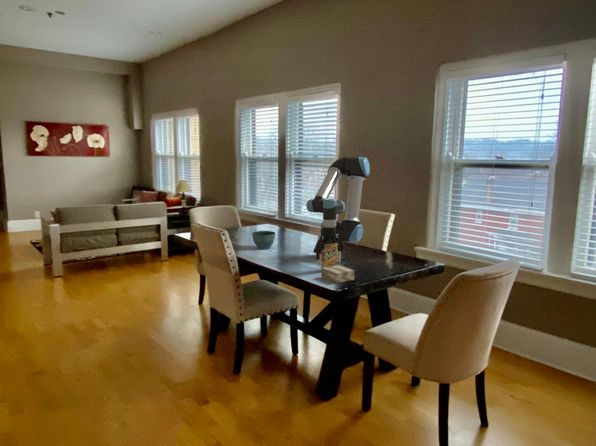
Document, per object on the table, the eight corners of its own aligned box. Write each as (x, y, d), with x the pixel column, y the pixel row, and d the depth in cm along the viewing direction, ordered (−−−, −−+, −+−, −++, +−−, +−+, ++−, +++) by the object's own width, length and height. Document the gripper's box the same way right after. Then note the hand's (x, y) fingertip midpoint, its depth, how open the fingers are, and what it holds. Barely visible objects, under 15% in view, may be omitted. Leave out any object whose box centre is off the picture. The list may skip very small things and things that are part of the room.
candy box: (325, 272, 242) (325, 245, 240) (320, 270, 246) (320, 243, 244) (337, 269, 248) (337, 243, 245) (332, 268, 251) (333, 242, 249)
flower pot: (278, 249, 300) (278, 234, 299) (255, 251, 295) (255, 235, 293) (271, 245, 315) (271, 230, 314) (249, 246, 310) (249, 231, 308)
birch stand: (339, 273, 239) (339, 265, 238) (354, 279, 228) (354, 270, 227) (321, 277, 233) (321, 268, 232) (336, 283, 222) (336, 273, 221)
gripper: (343, 223, 253) (342, 259, 256) (307, 227, 239) (307, 264, 243) (351, 225, 246) (350, 262, 250) (314, 229, 233) (314, 267, 236)
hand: (329, 263), depth 246 cm, fingers open, 13 cm apart
